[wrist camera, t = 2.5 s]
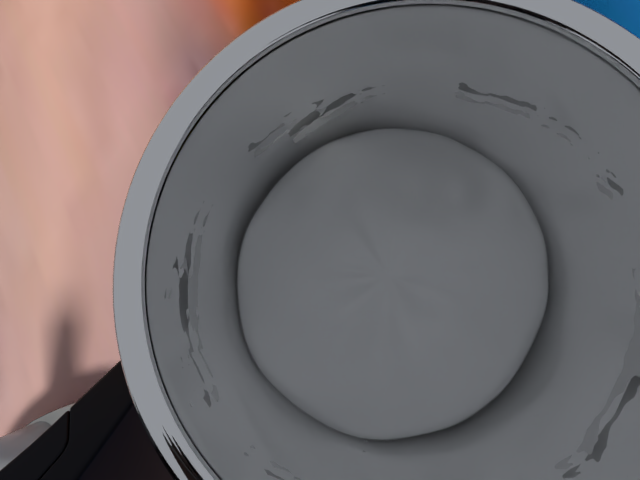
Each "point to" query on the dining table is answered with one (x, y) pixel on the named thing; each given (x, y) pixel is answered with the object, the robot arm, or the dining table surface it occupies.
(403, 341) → the beer glass
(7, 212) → the dining table surface
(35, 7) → the dining table surface
